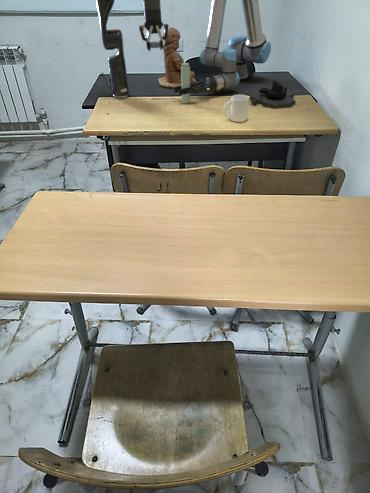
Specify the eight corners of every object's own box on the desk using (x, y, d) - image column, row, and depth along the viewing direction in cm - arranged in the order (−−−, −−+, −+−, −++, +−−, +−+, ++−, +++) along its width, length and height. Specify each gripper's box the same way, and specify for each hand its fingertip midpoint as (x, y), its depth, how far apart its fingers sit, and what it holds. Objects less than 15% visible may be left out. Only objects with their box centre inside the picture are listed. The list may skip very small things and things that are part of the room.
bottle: (180, 101, 196) (179, 63, 184) (187, 100, 198) (187, 62, 186) (183, 103, 193) (183, 65, 181) (191, 102, 195) (191, 64, 182)
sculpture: (197, 88, 213) (196, 30, 194) (156, 89, 214) (152, 31, 194) (196, 75, 234) (196, 22, 215) (159, 76, 235) (156, 23, 215)
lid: (156, 48, 167) (155, 44, 166) (147, 47, 169) (147, 43, 168) (162, 46, 170) (162, 42, 169) (153, 45, 172) (153, 41, 171)
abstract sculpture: (259, 90, 177) (247, 79, 193) (257, 109, 183) (245, 97, 198) (307, 86, 180) (291, 76, 195) (303, 105, 186) (288, 93, 201)
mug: (224, 123, 170) (225, 101, 163) (221, 117, 176) (221, 95, 170) (249, 121, 171) (251, 99, 165) (244, 115, 177) (246, 93, 171)
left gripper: (137, 9, 155) (141, 53, 166) (169, 7, 158) (171, 50, 169) (134, 7, 161) (139, 49, 172) (166, 5, 163) (168, 47, 174)
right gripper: (222, 95, 194) (184, 103, 186) (205, 86, 206) (169, 94, 198) (223, 80, 189) (184, 87, 181) (205, 72, 201) (168, 79, 193)
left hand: (155, 49), depth 170 cm, fingers closed on lid, 5 cm apart
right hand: (176, 91), depth 189 cm, fingers closed on bottle, 5 cm apart
